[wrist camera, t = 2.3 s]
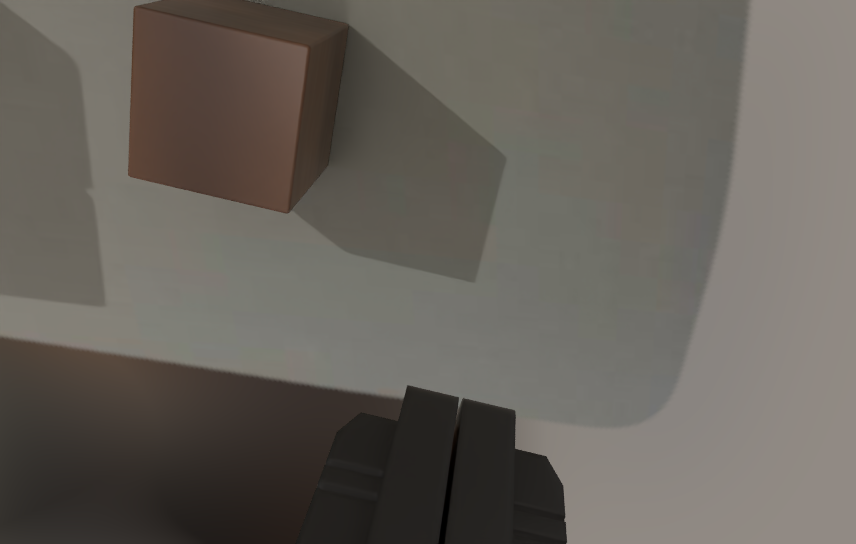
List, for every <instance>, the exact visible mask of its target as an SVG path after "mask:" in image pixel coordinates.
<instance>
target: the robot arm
mask: <svg viewBox="0 0 856 544" xmlns="http://www.w3.org/2000/svg"><path fill="white" fill-rule="evenodd" d="M458 401H459V397H455V396H451V395H447V394H442V393H438V392H434V391H430V390H426V389H421V388H417V387H413V386H409V385H408V386H407V389H406V393H405V397H404V401H403V404H402V408H401V413H400V416H399V420H398V421H395V420H390V419H386V418H382V417H378V416H374V415H369V414H365V413H360V414H358V415H357V416H356V417H355V418H354V419H352V420H351V421H350V422H349V423H348V424H346V425H345V426H344V427H343V428H341V429H340V430H339V431H338V432H337V434H336V436H335V439H334V442H333V444H332V447H331V450H330V452H329V455H328V458H327V461H326V465H325V466H324V469H323V471H322V474H321V476H320V479H319V482H318V486H317V488H316V490H315V492H314V495H313V498H312V501H311V503H310V506H309V509H308V511H307V514H306V517H305V519H304V522H303V525H302V528H301V530H300V533H299V536H298V538H297V541H296V543H295V544H566V543H567V536H566V522H564V519H565V506H564V491H563V485H562V483H561V481H560V479H559V478H558V476H557V474H556V473H555V471H554V469H553V467H552V466H551V464H550V462H549V461H548V459H547V457H546V456H542V455H538V454H534V453H530V452H526V451H522V450H518V449H515V419H516V415H515V410H511V409H507V408H502V407H498V406H494V405H490V404H486V403H481V402H477V401H473V400H469V399H464V398H463V399H462V402H461V405H460V408H459V412H458V415H457V409H458ZM456 415H457V419H456Z"/></svg>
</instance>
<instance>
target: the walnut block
mask: <svg viewBox="0 0 856 544" xmlns="http://www.w3.org/2000/svg"><path fill="white" fill-rule="evenodd" d="M348 28H349V27H348V24H346V23H342V22H337V21H333V20H329V19H324V18H320V17H315V16H311V15H307V14H302V13H298V12H293V11H289V10H285V9H280V8H276V7H271V6H267V5H263V4H258V3H254V2H250V1H245V0H161V1H157V2H152V3H148V4H143V5H138V6H135V7H134V18H133V48H132V77H131V106H130V136H129V165H128V175H129V176H130V177H133V178H137V179H142V180H146V181H150V182H154V183H159V184H163V185H167V186H172V187H176V188H180V189H184V190H189V191H193V192H197V193H201V194H206V195H210V196H214V197H219V198H223V199H227V200H231V201H236V202H240V203H244V204H248V205H253V206H257V207H261V208H266V209H270V210H274V211H278V212H283V213H289V212H290V211H291V210H292V208H293V207H294V206H295V205H296V204H297V202H298V201H299V200H300V199H301V197H302V196H303V195H304V194H305V193H306V191H307V190H308V189H309V188H310V187H311V185H312V184H313V183H314V182H315V180H316V179H317V178H318V177H319V176H320V174H321V173H322V172H323V171H324V170H325V168H326V167H327V166H328V161H329V154H330V148H331V141H332V134H333V128H334V121H335V114H336V108H337V101H338V94H339V88H340V81H341V74H342V68H343V61H344V55H345V48H346V41H347V35H348Z"/></svg>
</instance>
